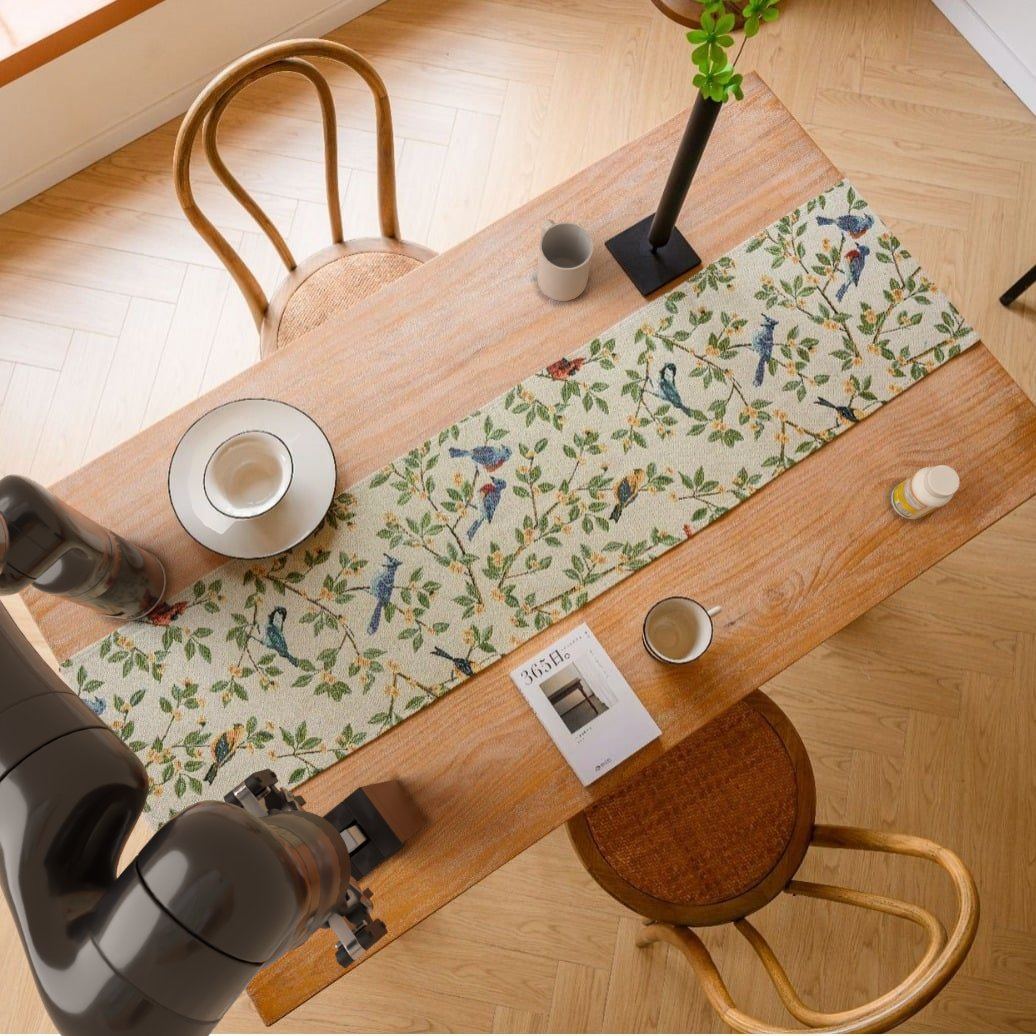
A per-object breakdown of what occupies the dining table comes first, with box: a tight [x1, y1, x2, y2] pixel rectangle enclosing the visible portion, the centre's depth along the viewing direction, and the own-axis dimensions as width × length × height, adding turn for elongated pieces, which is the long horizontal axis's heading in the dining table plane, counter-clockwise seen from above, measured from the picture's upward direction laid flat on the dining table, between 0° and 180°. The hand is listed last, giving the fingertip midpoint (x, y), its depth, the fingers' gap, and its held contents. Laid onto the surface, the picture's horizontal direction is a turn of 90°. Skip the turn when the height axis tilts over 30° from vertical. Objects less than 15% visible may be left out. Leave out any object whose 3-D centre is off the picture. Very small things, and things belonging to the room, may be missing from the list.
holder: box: [321, 779, 428, 883], centre depth 97 cm, size 6×6×30 cm
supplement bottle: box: [890, 464, 961, 520], centre depth 118 cm, size 5×5×10 cm
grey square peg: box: [340, 824, 369, 853], centre depth 82 cm, size 2×2×10 cm
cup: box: [536, 218, 594, 302], centre depth 126 cm, size 7×10×9 cm
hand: (326, 853), depth 69 cm, fingers open, 8 cm apart
